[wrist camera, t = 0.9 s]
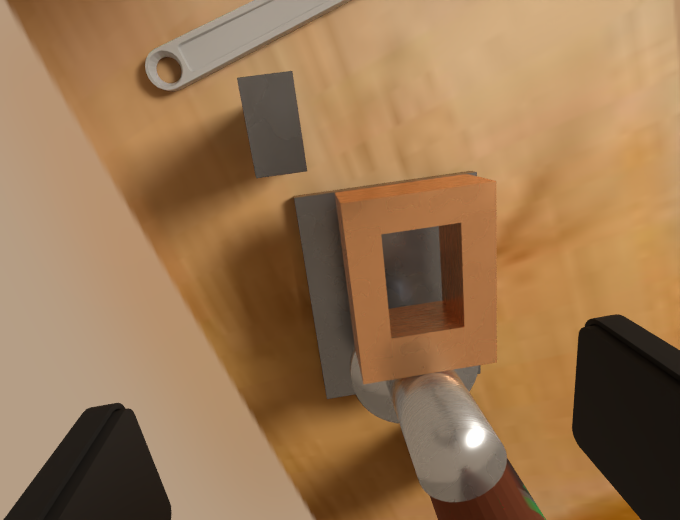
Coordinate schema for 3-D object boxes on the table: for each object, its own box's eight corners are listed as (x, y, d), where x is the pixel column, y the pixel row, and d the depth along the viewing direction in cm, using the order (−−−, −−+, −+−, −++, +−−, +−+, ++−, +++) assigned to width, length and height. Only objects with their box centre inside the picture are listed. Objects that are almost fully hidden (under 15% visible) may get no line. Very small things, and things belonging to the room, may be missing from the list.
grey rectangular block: (260, 97, 28) (236, 77, 18) (295, 92, 29) (292, 71, 18) (271, 161, 30) (256, 178, 19) (304, 157, 30) (307, 171, 20)
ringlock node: (292, 186, 31) (285, 234, 16) (471, 161, 31) (613, 186, 17) (326, 392, 36) (342, 559, 22) (475, 367, 37) (584, 513, 23)
